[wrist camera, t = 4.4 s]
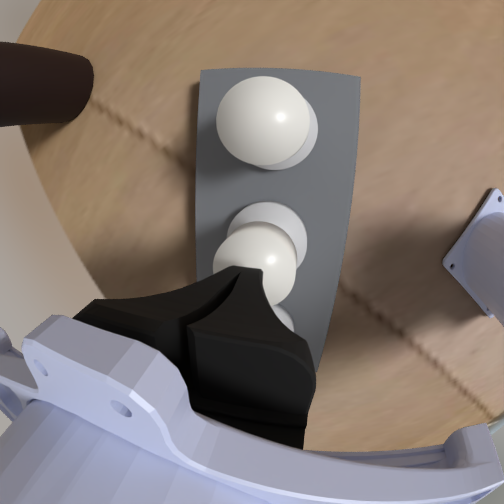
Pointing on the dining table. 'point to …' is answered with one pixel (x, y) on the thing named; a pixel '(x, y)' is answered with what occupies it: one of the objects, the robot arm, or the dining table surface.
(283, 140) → the knob
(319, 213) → the knob panel
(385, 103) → the dining table surface
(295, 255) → the knob
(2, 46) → the bottle
